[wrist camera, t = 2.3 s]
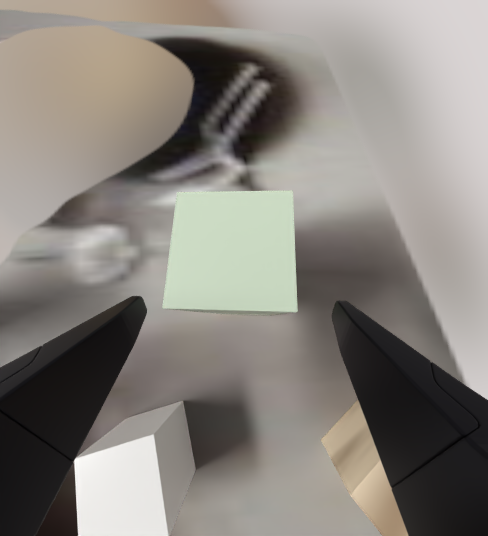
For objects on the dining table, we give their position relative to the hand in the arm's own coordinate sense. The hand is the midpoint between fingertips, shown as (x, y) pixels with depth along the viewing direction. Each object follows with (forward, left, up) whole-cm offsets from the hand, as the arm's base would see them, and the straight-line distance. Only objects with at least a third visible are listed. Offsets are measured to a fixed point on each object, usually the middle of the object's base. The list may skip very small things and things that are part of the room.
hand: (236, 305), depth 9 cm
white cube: (-6, +11, -9) cm, 16 cm away
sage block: (+2, -1, -9) cm, 10 cm away
